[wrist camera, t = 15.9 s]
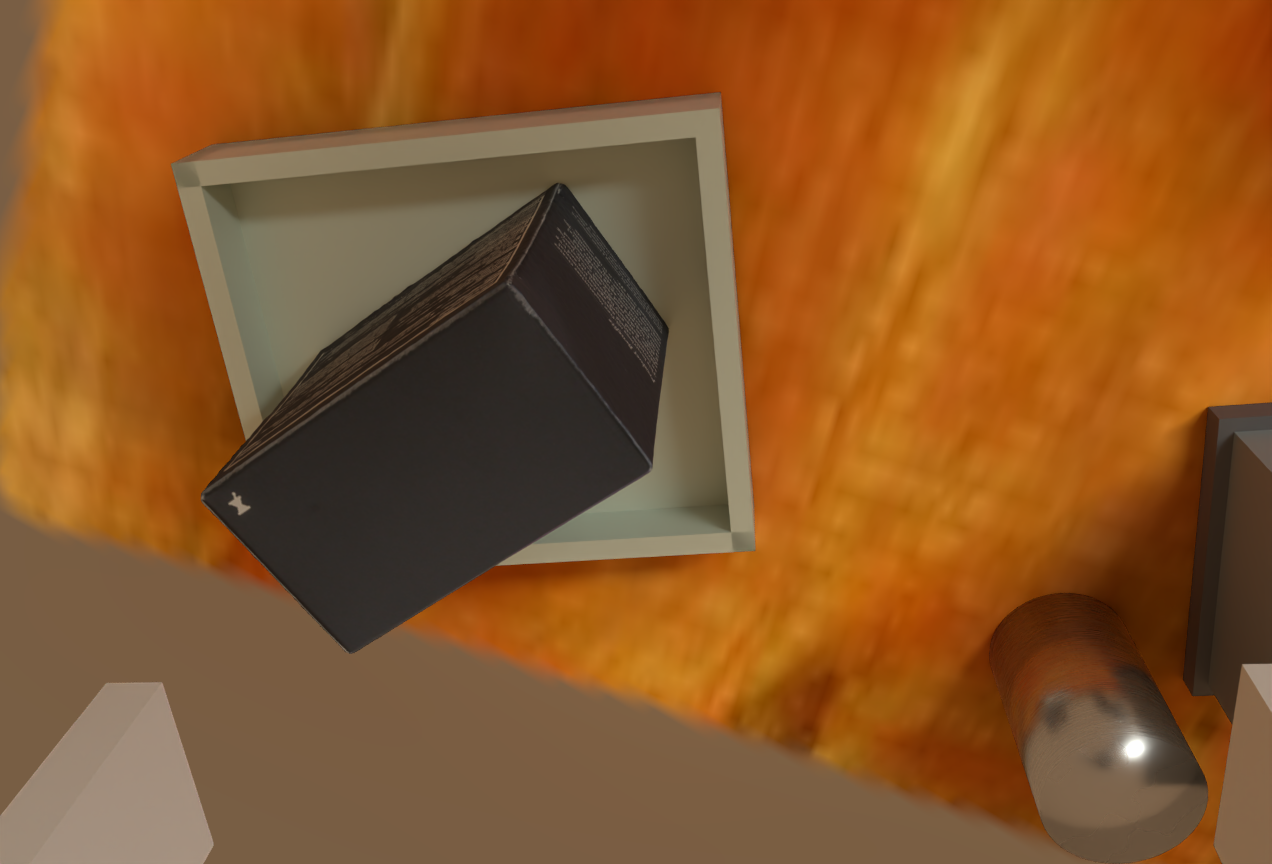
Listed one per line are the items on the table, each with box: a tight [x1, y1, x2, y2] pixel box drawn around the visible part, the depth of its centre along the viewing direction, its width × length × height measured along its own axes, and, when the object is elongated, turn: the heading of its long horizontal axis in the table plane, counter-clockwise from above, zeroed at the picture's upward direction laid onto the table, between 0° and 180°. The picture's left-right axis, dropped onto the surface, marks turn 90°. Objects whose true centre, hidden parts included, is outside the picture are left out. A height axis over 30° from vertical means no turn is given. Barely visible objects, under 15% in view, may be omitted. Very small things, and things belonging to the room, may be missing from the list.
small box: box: [201, 183, 669, 654], centre depth 34 cm, size 11×6×10 cm, turn 126°
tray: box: [171, 92, 755, 566], centre depth 39 cm, size 14×16×3 cm
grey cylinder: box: [989, 593, 1208, 864], centre depth 40 cm, size 5×5×8 cm
